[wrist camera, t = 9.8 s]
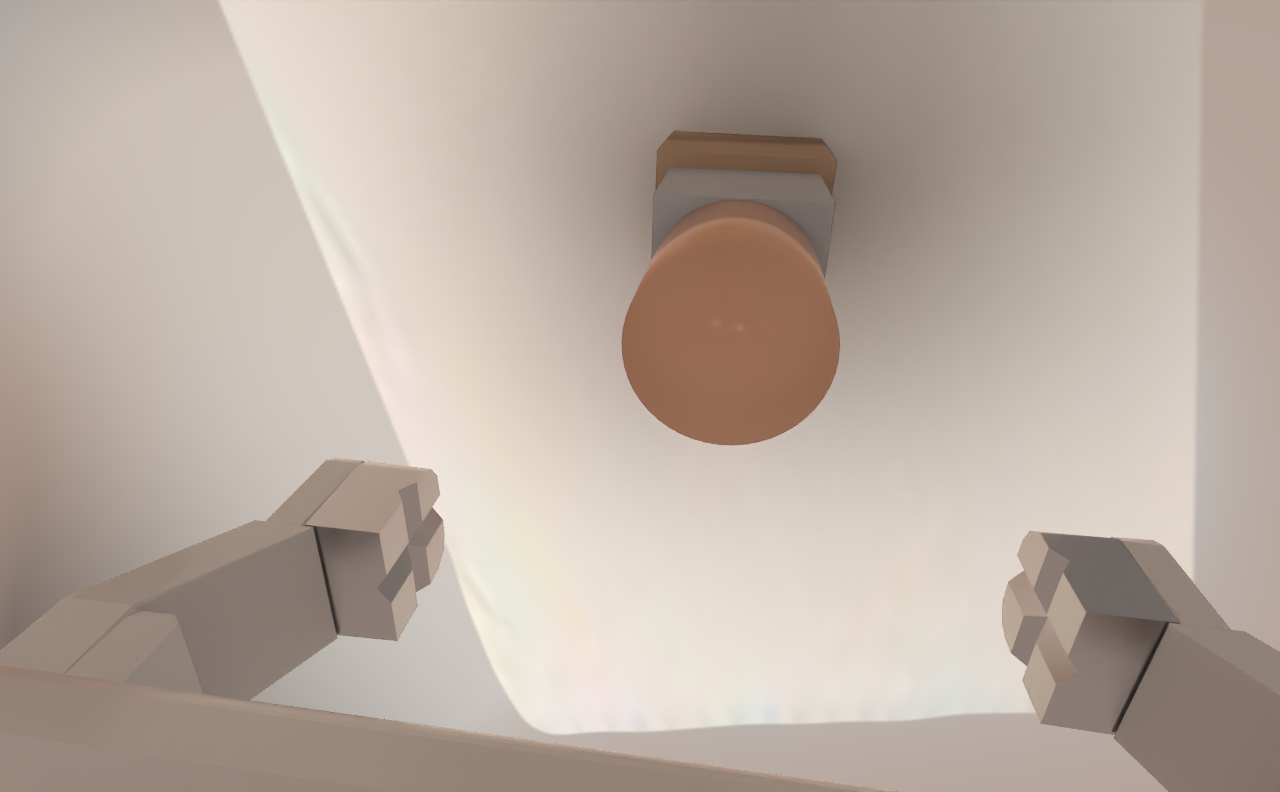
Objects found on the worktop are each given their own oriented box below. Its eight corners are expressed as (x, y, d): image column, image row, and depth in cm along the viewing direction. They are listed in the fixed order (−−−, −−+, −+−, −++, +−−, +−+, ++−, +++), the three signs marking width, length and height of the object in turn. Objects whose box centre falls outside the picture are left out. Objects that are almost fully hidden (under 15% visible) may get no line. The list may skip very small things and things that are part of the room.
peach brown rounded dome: (652, 194, 20) (624, 235, 16) (834, 205, 20) (857, 252, 15) (646, 357, 23) (619, 434, 18) (808, 371, 22) (822, 455, 18)
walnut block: (673, 130, 30) (657, 150, 25) (821, 138, 29) (836, 160, 24) (666, 272, 33) (650, 317, 27) (801, 281, 32) (811, 329, 27)
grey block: (670, 167, 25) (653, 194, 20) (819, 173, 24) (834, 202, 20) (665, 306, 27) (649, 358, 23) (802, 315, 26) (812, 369, 22)
